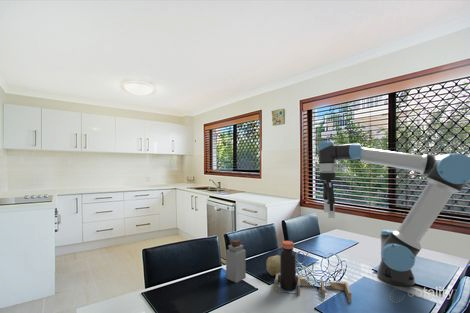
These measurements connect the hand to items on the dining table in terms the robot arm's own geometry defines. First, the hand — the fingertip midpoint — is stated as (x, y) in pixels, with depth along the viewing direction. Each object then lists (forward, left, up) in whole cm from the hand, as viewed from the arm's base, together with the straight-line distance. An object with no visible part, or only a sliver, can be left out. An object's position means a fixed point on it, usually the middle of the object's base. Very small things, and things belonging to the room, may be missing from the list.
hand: (329, 214), depth 122 cm
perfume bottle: (+45, +13, -31) cm, 56 cm away
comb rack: (+10, +16, -30) cm, 36 cm away
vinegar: (+19, +16, -30) cm, 40 cm away
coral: (+27, +4, -31) cm, 41 cm away
